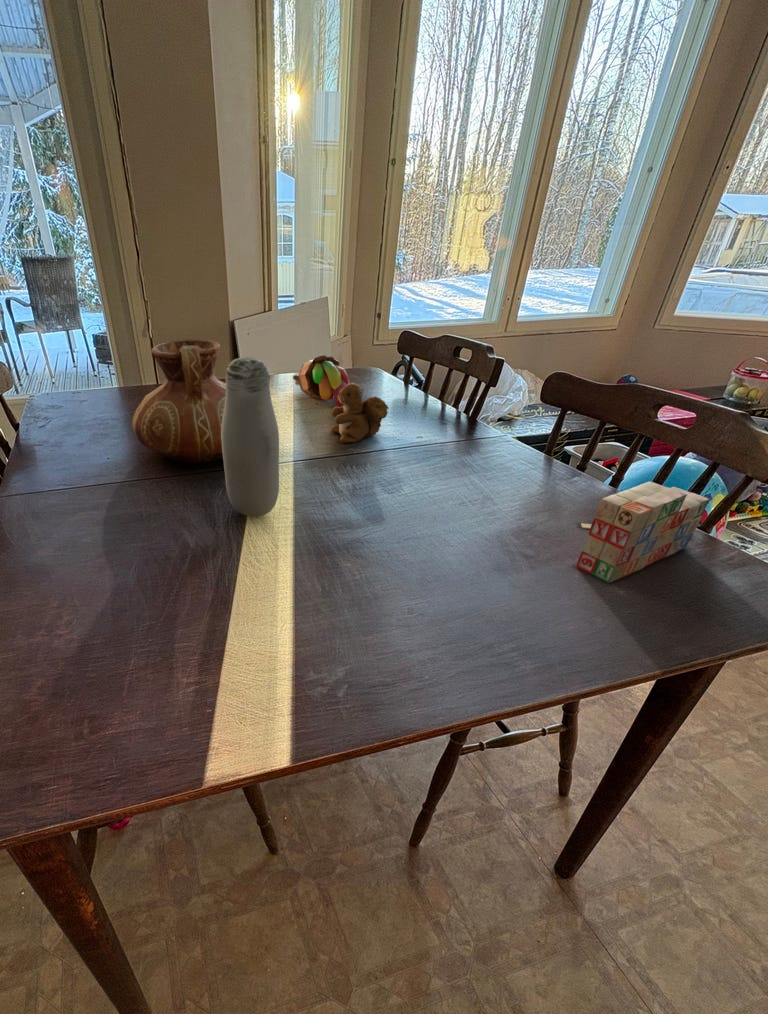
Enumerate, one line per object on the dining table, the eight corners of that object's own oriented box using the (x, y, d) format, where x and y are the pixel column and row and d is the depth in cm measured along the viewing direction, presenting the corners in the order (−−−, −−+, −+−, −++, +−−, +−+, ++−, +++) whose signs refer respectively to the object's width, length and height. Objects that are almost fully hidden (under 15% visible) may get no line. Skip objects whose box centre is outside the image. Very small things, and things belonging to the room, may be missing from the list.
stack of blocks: (651, 534, 97) (682, 468, 89) (686, 549, 92) (721, 481, 85) (574, 566, 89) (601, 497, 81) (608, 584, 84) (640, 512, 77)
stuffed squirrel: (328, 431, 144) (329, 379, 136) (379, 429, 145) (383, 376, 137) (334, 444, 136) (336, 389, 128) (387, 441, 137) (393, 386, 129)
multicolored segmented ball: (326, 369, 178) (364, 355, 157) (321, 416, 183) (357, 410, 161) (285, 360, 173) (318, 345, 151) (281, 410, 177) (312, 403, 155)
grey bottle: (219, 516, 105) (202, 360, 87) (251, 498, 111) (242, 349, 94) (258, 529, 100) (249, 367, 83) (289, 509, 107) (287, 355, 89)
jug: (118, 447, 136) (94, 337, 121) (214, 422, 151) (204, 322, 135) (178, 481, 119) (159, 358, 103) (281, 450, 133) (278, 337, 118)
